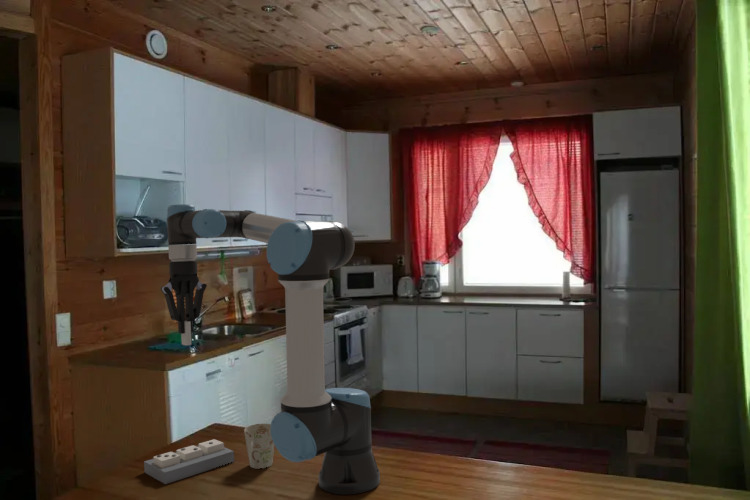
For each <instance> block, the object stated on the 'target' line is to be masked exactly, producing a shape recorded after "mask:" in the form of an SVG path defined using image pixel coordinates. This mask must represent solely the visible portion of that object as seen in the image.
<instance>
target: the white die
mask: <svg viewBox="0 0 750 500" xmlns="http://www.w3.org/2000/svg"><path fill="white" fill-rule="evenodd" d="M196 446H197V445H188V446H185V447H182V448H178V449H176V450H175V452H177V455H180V459H181V460H183V461H185V462H186V461H189V460H192V459H195V458H199V457H202V456H203V449H201V448H199V447H196Z"/></svg>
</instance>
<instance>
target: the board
mask: <svg viewBox="0 0 750 500" xmlns="http://www.w3.org/2000/svg"><path fill="white" fill-rule="evenodd" d="M195 446H196V447H198V445H195ZM174 453H175V454H177V452H176V451H175V452H174ZM231 462H232V463H235V451H234V450H232V449H230V448H227V447H225V446H224V450H222V451H218V452H215V453H212V454H209V455H206V454H204V453H203V456H202V457H199V458H195V459H192V460H189V461H186V462H185V461H183V460H181V459H180V463H179V464H176V465H172V466H169V467H166V468H163V469H161V468H159V467H157V466H155V465H154V461H153V458H151V459H148V460H145V461H143V464H144V465H143V466H144V467H143V469H144V473H145V474H146V475H148V476H150V477H152V478H153V479H155V480H156V481H159V482H160V483H162V484H164V485H167V484H168V485H169V484H171V483H174V482H176V481H179V480H180V481H181V480H183V479H186V478H188V477H192V476H195V475H198V474H202V473H204V472H208V471H211V470H214V469H216V467H217V468H220V467H223V466H226V465H229V464H232V463H231ZM228 463H229V464H228ZM225 464H226V465H225ZM222 465H223V466H222ZM219 466H220V467H219ZM213 468H214V469H213Z"/></svg>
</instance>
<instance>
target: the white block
mask: <svg viewBox="0 0 750 500" xmlns="http://www.w3.org/2000/svg"><path fill="white" fill-rule="evenodd" d="M197 446H198V447H199V448H201V449H203V453H204V454H206V455H209V454H212V453H215V452H218V451H222V450H224V447H225V444H224V442H222V441H220V440H217V439H215V438H213V439H211V440H207V441H203V442H200V443H198V445H197Z"/></svg>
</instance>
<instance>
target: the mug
mask: <svg viewBox="0 0 750 500" xmlns="http://www.w3.org/2000/svg"><path fill="white" fill-rule="evenodd" d="M270 428H271V423H255V424H251V425H248V426H246V427H244V430H243V433H244V438H245V445H246V450H247V456H248V462H249V467H250V468H251V469H256V470H257V469H258V470H260V468H262V469H266V467H267V468H269V467H271V466H272V465H273V460H274V452H275V451H274V449H275V445H274V443H273V440H272V436H271V429H270Z"/></svg>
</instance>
